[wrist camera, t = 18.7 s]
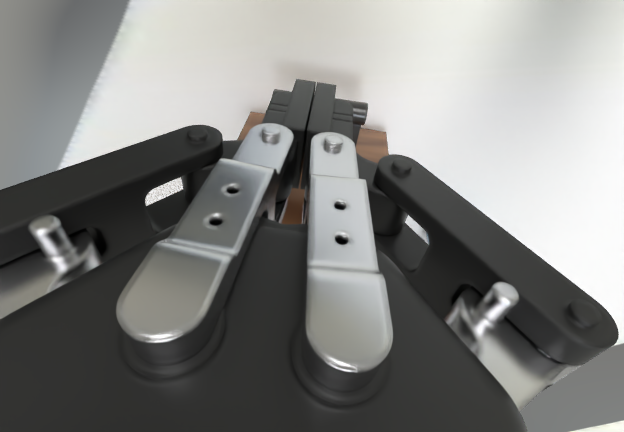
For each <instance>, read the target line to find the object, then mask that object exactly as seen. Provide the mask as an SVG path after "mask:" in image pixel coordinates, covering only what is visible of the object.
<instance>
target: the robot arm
mask: <svg viewBox="0 0 624 432" xmlns="http://www.w3.org/2000/svg"><path fill="white" fill-rule="evenodd" d="M315 84H316V82H312V81H305V80H299V79H296V82H295V85H294V88H293V91H292V92H288V91H282V90H281V91H279V92H278V93H276V94H275V95H273V96H272V99H271V101H270V104H269V106H268V109H267V111H266V113H265V116H264V118H263V121H262V123H261V124H259V125H256V126H254V127H253V128H251V129H250V131H249V132H248V134H247V136H246V137H245V139H243V140H235V141H223V140H222V134H221V132H220V131H219V130H217V129H216V128H213V127H210V126H206V125H192V126H187V127H184V128H181V129H178V130H175V131H172V132H169V133H166V134H163V135H160V136H157V137H155V138H152V139H149V140H146V141H143V142H140V143H137V144H134V145H131V146H128V147H125V148H122V149H119V150H116V151H113V152H110V153H108V154H105V155H102V156H99V157H96V158H93V159H90V160H87V161H84V162H81V163H78V164H75V165H72V166H69V167H66V168H63V169H61V170H58V171H55V172H52V173H49V174H46V175H43V176H40V177H37V178H34V179H31V180H28V181H25V182H23V183H19V184H17V185H14V186H11V187H8V188H5V189H2V190H0V432H528V430H527V428H526V425H525V422H524V420H523V417H522V415H521V414H520V411H522V410H523V409H524V408H525V407H526V406H527V405H528V404H529V403H530V402H531V401H532V400H533V399H534V398H535V397H536V396H537V395H538V394H539V393H540V392H542V391H543V390H545V389H546V388H548V387H549V386H551V385H553V384H554V383H556V382H557V381H559V380H560V379H562V378H563V377H565V376H566V375H568V374H570V373H571V372H573V371H574V370H576V369H577V368H579V367H580V366H582V365H583V364H585V363H586V362H588V361H589V360H591V359H593V358H594V357H596V356H597V355H599V354H600V353H602V352H603V351H605V350H606V349H608V348H610V347H611V346H613V345H614V344H615V343H616V342H617V340H618V335H619V334H618V328H617V325H616V323H615V321H614V320H613V318H612V317H611V315H610V314H609V313H608V311H607V310H606V309H605V308H604V307H603V306H602V305H601V304H599V303H598V302H597V301H596V300H594V299H593V298H592V297H591V296H589V295H588V294H587V293H585V292H584V291H583V290H582V289H580V288H579V287H578V286H576V285H575V284H574V283H572V282H571V281H570V280H569V279H567V278H566V277H565V276H563V275H562V274H561V273H560V272H558V271H557V270H556V269H554V268H553V267H552V266H551V265H549V264H548V263H547V262H545V261H544V260H543V259H542V258H540V257H539V256H538V255H536V254H535V253H534V252H532V251H531V250H530V249H529V248H527V247H526V246H525V245H523V244H522V243H521V242H520V241H518V240H517V239H516V238H514V237H513V236H512V235H511V234H509V233H508V232H507V231H505V230H504V229H503V228H502V227H500V226H499V225H498V224H496V223H495V222H494V221H493V220H491V219H490V218H489V217H487V216H486V215H485V214H483V213H482V212H481V211H480V210H478V209H477V208H476V207H474V206H473V205H472V204H471V203H469V202H468V201H467V200H465V199H464V198H463V197H462V196H460V195H459V194H458V193H456V192H455V191H454V190H453V189H451V188H450V187H449V186H447V185H446V184H445V183H443V182H442V181H441V180H440V179H438V178H437V177H436V176H434V175H433V174H432V173H431V172H429V171H428V170H427V169H425V168H424V167H423V166H422V165H420V164H419V163H418V162H416V161H415V160H413V159H411V158H409V157H406V156H402V155H386V156H384V157H382V158H381V159H380V160H379V162H378V163H375V162H373V161H370V160H367V159H365V158H363V157H362V156H360V155H359V154H358V153H357V152H356V148H355V144H354V142H353V106H352V105H351V104H350V102H349V101H348V100H342V99H335V92H336V85H332V84H326V83H319V82H317V85H316V90H315ZM314 94H315V95H314ZM302 168H303V170H302ZM301 173H302V179H301V188H300V189H304V190H305V194H304V202H303V213H302V224H281V223H282V220H283V217H284V214H285V211H286V208H287V205H288V197H289V195H290V193H291V189H292V188H296V189H298V188H299V183H300V178H301ZM179 177H181V179H182V184H183V190H181V191H179V192H177V193H175V194H172V195H170V196H168V197H166V198H164V199H161V200H159V201H157V202H155V203H153V204H150V205H148V206H146V204H145V198H146V195H147V194H148V193H149V192H150V191H151V190H152V189H154V188H156V187H158V186H160V185H163V184H165V183H167V182H170V181H172V180H174V179H177V178H179ZM408 215H409V216H410V217H411V218H412V219H414V220H415V221H416V222H417V223H418V224H419V225H420V226H421V227H422V228H423V229H424V230H425V231H426V232H427V234H428V237H429V245H428V244H427V243H426V242H425V241H424V240H423V239H422V238H421V237H419V236H418V235H417V234H416V233H415V232H414V231H413V230H412V229H411V228H410V227H409V226H408V225H407V224H406V223H405V221H406V218H407V216H408Z"/></svg>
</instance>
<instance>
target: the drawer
mask: <svg viewBox="0 0 624 432" xmlns="http://www.w3.org/2000/svg"><path fill="white" fill-rule="evenodd" d="M279 91H281V90H276V89H275V90H274V91H273V95H275V94H276V93H278V92H279ZM282 91H283V90H282ZM288 92H290V91H288ZM273 95H272V96H273ZM335 99H336V98H335ZM342 100H343V99H342ZM348 101H349V102H350V104H351V105H352V106H353V142H354V144H355V148H356V152H357V153H358V154H359V155H360V156H362V157H363V158H365V159H367V160H370V161H373V162H375V163H378V162H379V160H380V159H381V158H382V157H384V156H386V155H389V154H388V145H387V136H386V132H382V131H375V130H369V129H362V128H360V127H361V125H364V124H365V121H366V116H367V110H368V104H367V103H363V102H356V101H350V100H348ZM264 116H265V114H262V113H255V112H250V115H249V117H248V119H247V121H246V123H245V125H244V127H243V129H242V131H241V133H240V136H239V138H238V140H243V139H245V137H246V136H247V134H248V132H249V131H250V129H251V128H253V127H254V126H256V125H259V124H261V123H262V121H263V118H264ZM302 170H303V168H302ZM301 179H302V173H301V178H300V183H299V188H298V189H296V188H292V189H291V193H290V195H289V197H288V205H287V208H286V211H285V214H284V217H283V220H282V223H281V224H302V213H303V202H304V194H305V190H304V189H300V188H301Z"/></svg>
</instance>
